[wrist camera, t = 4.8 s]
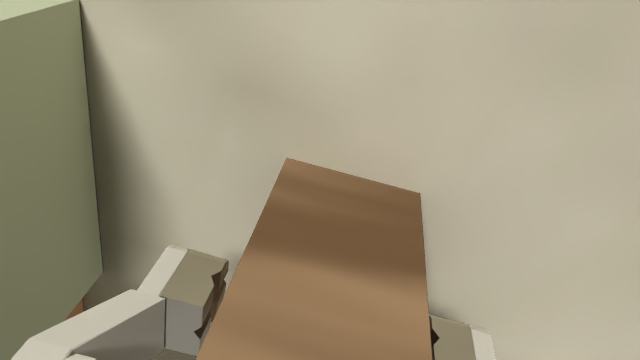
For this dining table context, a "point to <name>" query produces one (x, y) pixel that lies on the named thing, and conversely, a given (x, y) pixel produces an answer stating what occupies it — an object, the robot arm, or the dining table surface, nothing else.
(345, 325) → the wooden handled metal tool
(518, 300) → the dining table surface
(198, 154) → the dining table surface
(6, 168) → the stand
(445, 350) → the robot arm
